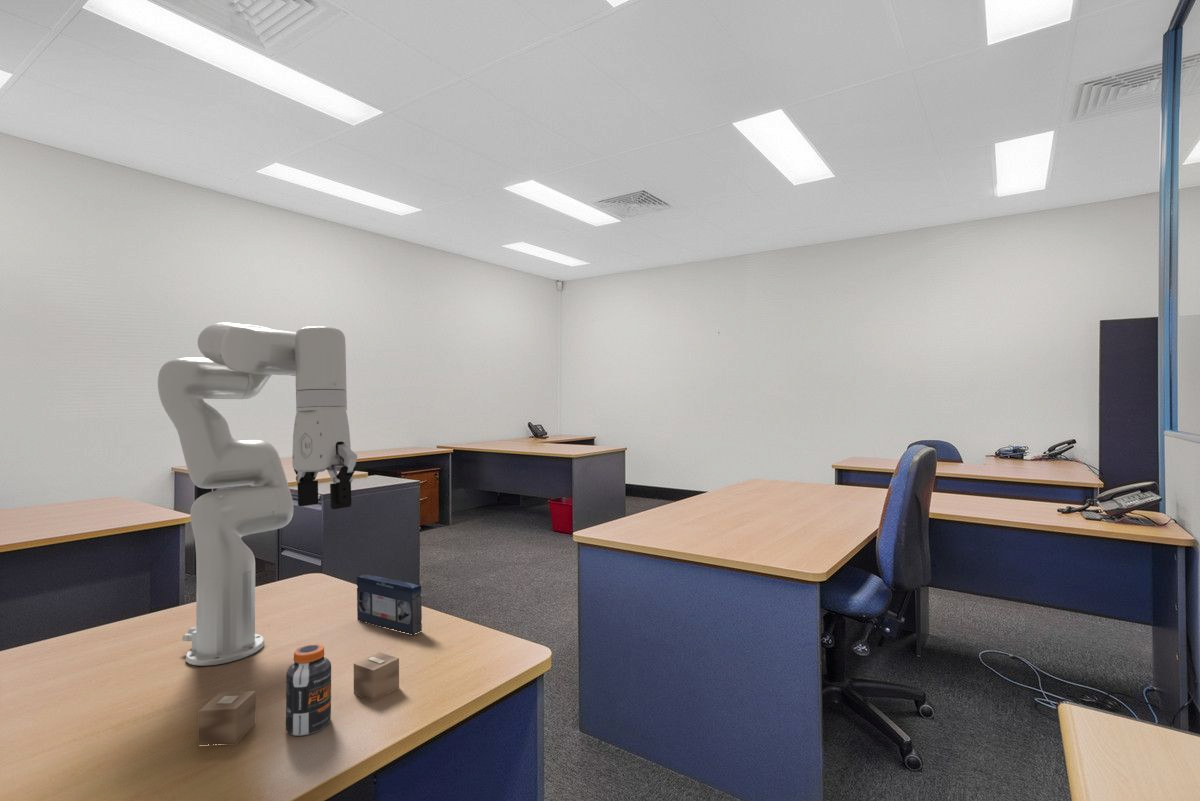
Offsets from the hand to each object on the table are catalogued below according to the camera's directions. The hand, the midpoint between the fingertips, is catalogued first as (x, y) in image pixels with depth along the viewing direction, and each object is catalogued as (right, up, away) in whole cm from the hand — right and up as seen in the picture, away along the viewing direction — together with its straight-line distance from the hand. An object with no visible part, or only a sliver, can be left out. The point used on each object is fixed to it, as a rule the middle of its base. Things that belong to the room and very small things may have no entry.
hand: (324, 506), depth 90 cm
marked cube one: (-8, -31, -11) cm, 34 cm away
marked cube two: (+8, -31, +1) cm, 32 cm away
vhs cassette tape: (-1, -32, +29) cm, 43 cm away
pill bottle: (+2, -31, -9) cm, 32 cm away
